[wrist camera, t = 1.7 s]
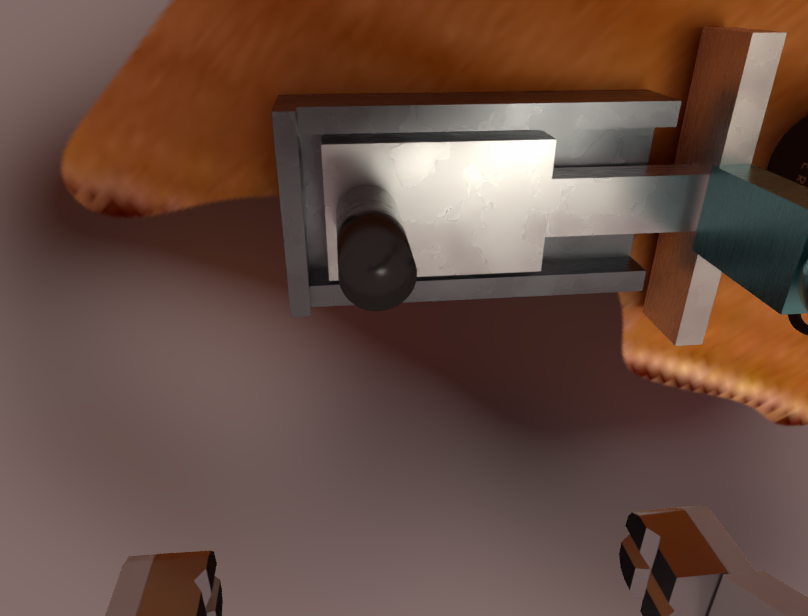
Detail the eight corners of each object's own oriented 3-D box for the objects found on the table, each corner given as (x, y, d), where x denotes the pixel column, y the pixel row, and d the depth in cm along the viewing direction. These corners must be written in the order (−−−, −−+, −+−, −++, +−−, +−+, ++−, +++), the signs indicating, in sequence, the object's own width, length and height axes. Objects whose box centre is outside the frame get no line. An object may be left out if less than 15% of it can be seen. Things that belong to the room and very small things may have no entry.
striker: (748, 27, 30) (1057, 57, 18) (679, 310, 38) (860, 476, 25) (315, 28, 28) (306, 65, 15) (333, 328, 36) (337, 521, 23)
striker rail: (647, 89, 32) (692, 104, 28) (615, 264, 36) (650, 299, 33) (278, 95, 30) (271, 111, 26) (295, 279, 35) (290, 317, 31)
